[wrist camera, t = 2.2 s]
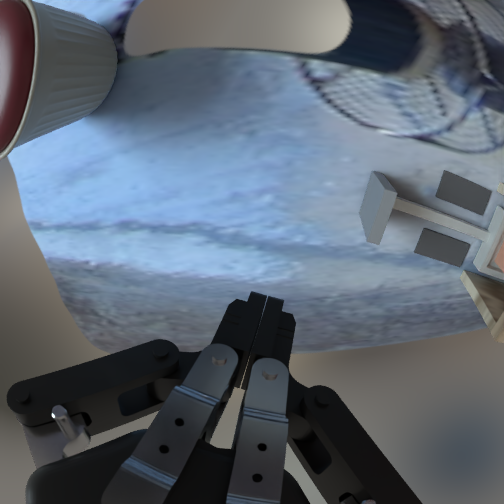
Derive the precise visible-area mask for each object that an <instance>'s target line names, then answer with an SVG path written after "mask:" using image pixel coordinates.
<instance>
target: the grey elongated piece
mask: <svg viewBox="0 0 504 504" xmlns="http://www.w3.org/2000/svg"><path fill="white" fill-rule="evenodd" d="M397 194H398V193H397V192H396V190H395V189H394V188H393V186H392V185H391V184H390V183H389V181H388V180H387V179H386V178H385V176H384V175H383V174H381V173H378V172H375V171H372V173H371V176H370V180H369V183H368V186H367V190H366V193H365V196H364V199H363V203H362V206H361V209H360V212H359V214H360V218H361V221H362V225H363V229H364V232H365V236H366V240H367V242H371V243H374V244H377V245H379V244H380V242H381V239H382V236H383V234H384V231H385V228H386V225H387V223H388V220H389V217H390V214H391V211H392V208H393V209H396V210H399V211H402V212H405V213H408V214H411V215H414V216H417V217H420V218H423V219H425V220H428V221H431V222H434V223H437V224H440V225H442V226H445V227H448V228H451V229H453V230H456V231H459V232H461V233H464V234H467V235H469V236H472V237H474V238H477V239H480V240H482V241H483V242H482V244H481V246H480V248H479V251H478V253H477V255H476V257H475V259H474V261H473V264H474V265H475V266H476V268H477V269H478V271H479V272H482V273H485V274H488V275H491V276H494V277H496V278H499V279H502V280H504V273H503V271H502V270H501V269H500V268H499V266H498V265H497V264H496V263H495V262H494V261H495V259H496V257H497V254H498V252H499V250H500V248H501V246H502V243H503V241H504V208H502V207H500V206H498V205H497V207H496V210H495V213H494V215H493V218H492V220H491V223H490V225H489V228H488V230H485V229H483V228H481V227H478V226H476V225H473V224H471V223H468V222H466V221H463V220H461V219H458V218H456V217H453V216H450V215H448V214H445V213H442V212H440V211H437V210H434V209H432V208H429V207H426V206H423V205H420V204H418V203H415V202H412V201H409V200H406V199H403V198H400V197H397Z"/></svg>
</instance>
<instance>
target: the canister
mask: <svg viewBox="0 0 504 504" xmlns="http://www.w3.org/2000/svg"><path fill="white" fill-rule="evenodd" d="M117 62H118V59H117V51H116V45H115V44H114V40H113V38H112V37H111V35H110V34H109V32H107V31H106V29H105V28H104V27H102V26H100V25H99V24H97V23H96V22H94V21H91V20H89V19H87V18H84V17H82V16H79V15H76V14H74V13H71V12H68V11H65V10H61V9H58V8H55V7H52V6H49V5H45V4H42V3H38V2H34V1H32V0H0V161H1V160H3V159H4V158H5V157H6V156H7V155H8V154H9V153H10V152H11V151H12V150H13V148H16V147H18V146H20V145H22V144H24V143H27V142H29V141H31V140H33V139H35V138H38V137H40V136H42V135H45V134H47V133H50V132H52V131H54V130H57V129H59V128H61V127H64V126H66V125H69V124H71V123H73V122H76V121H78V120H80V119H82V118H84V117H86V116H88V115H89V114H90V113H91V112H93V111H94V110H96V109H97V108H98V106H99V105H101V104H102V102H103V100H104V99H105V98H106V97H107V95H108V93H109V91H110V90H111V87H112V85H113V83H114V79H115V76H116V70H117Z"/></svg>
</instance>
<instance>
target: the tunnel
mask: <svg viewBox="0 0 504 504" xmlns="http://www.w3.org/2000/svg"><path fill="white" fill-rule="evenodd" d="M497 192H499V193H500V194H502V195H503V196H504V184H503V183H501V182H500V183H499V186H498V189H497ZM460 279H461V281H462V282H463V284H464V286H465V287H466V289H467V291H468V292H469V294H470V296H471V297H472V299H473V301H474V303H475V305H476V306H477V308H478V310H479V312H480V314H481V315H482V317H483V319H484V321H485V323H486V325H487V327H488V329H489V331H490V333H491V335H492V337H493V339H494V340H495V341H497V342H502V343H504V283H501V282H498V281H495V280H492V279H489V278H486V277H483V276H480V275H477V274H474V273H471V272H468V271H465V270H463V273H462V275H461V277H460Z"/></svg>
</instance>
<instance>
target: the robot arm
mask: <svg viewBox="0 0 504 504" xmlns="http://www.w3.org/2000/svg"><path fill="white" fill-rule="evenodd" d="M266 298H267V295H263V294H260V293H256V292H253V291H251V293H250V296H249V298H248V301H247V302H246V301H243V300H239V299H236V300H235V301H233V302H232V303H230V304H229V306H228V308H227V310H226V312H225V314H224V316H223V319H222V321H221V323H220V325H219V327H218V329H217V332H216V334H215V336H214V338H213V340H212V342H211V344H210V345H208V346H207V347H205V348H204V349H203V350H202V351H199V352H179V349H178V348H177V346H176V345H175V344H174V343H172V342H170V341H168V340H163V339H157V340H153V341H150V342H147V343H144V344H141V345H138V346H135V347H132V348H129V349H126V350H123V351H120V352H117V353H114V354H111V355H107V356H104V357H101V358H98V359H95V360H92V361H89V362H85V363H82V364H79V365H76V366H72V367H69V368H66V369H62V370H59V371H55V372H52V373H49V374H45V375H42V376H38V377H35V378H31V379H27V380H24V381H20V382H17V383H15V384H14V385H12V387H11V388H10V389H9V391H8V394H7V403H8V406H9V407H10V409H11V410H12V411H13V413H14V414H15V416H16V418H17V420H18V421H19V422H20V424H21V425H22V426H23V429H24V433H25V436H26V439H27V442H28V445H29V448H30V451H31V454H32V457H33V460H34V463H35V466H36V468H37V470H36V471H35V472H33V474H32V475H31V476H30V478H29V480H28V483H27V485H26V504H310V502H309V501H308V499H307V497H306V496H305V494H304V492H303V491H302V489H301V487H300V486H299V484H298V483H297V481H296V480H295V479H294V477H293V476H292V475H291V474H290V473H289V472H287V471H286V470H285V469H284V464H285V454H286V444H287V442H288V444H289V445H290V447H291V448H292V450H293V452H294V453H295V455H296V456H297V458H298V459H299V461H300V462H301V464H302V466H303V467H304V469H305V470H306V472H307V474H308V475H309V477H310V478H311V479H312V481H313V483H314V484H315V486H316V487H317V489H318V490H319V492H320V493H321V495H322V496H323V497H324V499H325V500H326V502H327V503H328V504H422V503H421V501H420V500H419V499H418V498H417V496H416V495H415V494H414V492H413V491H412V490H411V489H410V487H409V486H408V485H407V484H406V482H405V481H404V480H403V478H402V477H401V476H400V475H399V473H398V472H397V471H396V470H395V468H394V467H393V466H392V464H391V463H390V462H389V461H388V459H387V458H386V457H385V456H384V454H383V453H382V452H381V450H380V449H379V448H378V447H377V445H376V444H375V443H374V441H373V440H372V439H371V437H370V436H369V435H368V434H367V432H366V431H365V430H364V428H363V427H362V426H361V425H360V423H359V422H358V421H357V419H356V418H355V417H354V416H353V414H352V413H351V412H350V410H349V409H348V408H347V406H346V405H345V404H344V402H343V401H342V400H341V398H340V397H339V396H338V394H336V392H335V391H333V390H332V389H331V388H329V387H326V386H321V385H317V386H313V387H310V388H307V387H305V386H304V385H302V384H300V383H299V382H297V381H296V380H295V379H294V378H293V377H292V376H291V374H290V372H289V360H290V354H291V349H292V343H293V337H294V332H295V326H296V322H295V319H294V317H293V314H290V313H286V312H283V311H282V308H283V303H284V300H282V299H278V298H275V297H271V296H268V299H267V302H266ZM265 302H266V306H265ZM264 306H265V309H264ZM263 309H264V312H263ZM262 313H263V315H262ZM261 317H262V319H261ZM260 320H261V322H260ZM259 324H260V325H259ZM257 331H258V332H257ZM256 334H257V335H256ZM255 337H256V338H255ZM252 347H253V348H252ZM251 350H252V351H251ZM250 353H251V354H250ZM249 356H250V358H249ZM248 360H249V361H248ZM247 363H248V365H247ZM246 366H247V369H246ZM245 369H246V372H245ZM244 372H245V376H244V380H243V383H242V387H241V389H244V390H245V393H244V396H243V399H242V403H241V406H240V411H239V415H238V420H237V425H236V429H235V434H234V439H233V443H232V447H231V449H223V448H216V447H214V446H213V445H211V444H210V441H211V438H212V436H213V433H214V431H215V429H216V426H217V425H218V422H219V420H220V418H221V416H222V414H223V411H224V410H225V408H226V405H227V403H228V400H229V398H230V397H231V395H232V392H233V389H234V387H237V388H240V384H241V381H242V378H243V375H244ZM159 410H160V411H159ZM156 411H159V412H158V414H157V415H156V417H155V419H154V420H153V422H152V423H151V425H150V426H149V428H148V429H142V430H137V431H133V432H130V433H128V434H126V435H123V436H121V437H119V438H116V439H114V440H111V441H109V442H106V443H104V444H101V445H99V446H96V447H94V448H91V449H88V450H86V451H84V452H81V451H83V450H85V449H86V448H87V447H88V445H89V444H90V441H91V436H93V435H96V434H99V433H101V432H104V431H107V430H110V429H113V428H115V427H118V426H121V425H123V424H126V423H129V422H131V421H134V420H136V419H139V418H141V417H144V416H147V415H149V414H151V413H154V412H156ZM79 452H80V453H79Z"/></svg>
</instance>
